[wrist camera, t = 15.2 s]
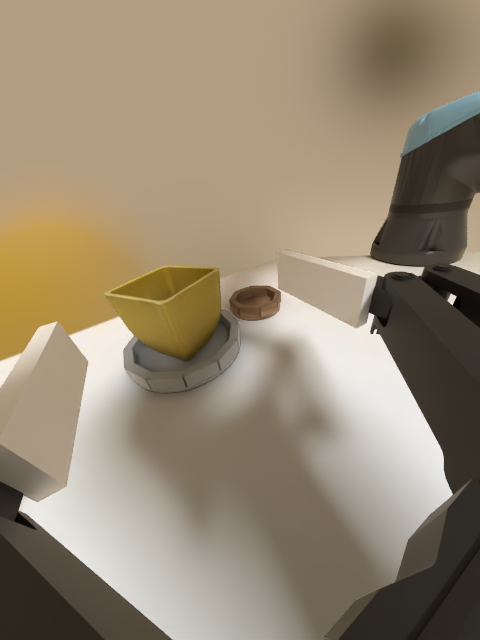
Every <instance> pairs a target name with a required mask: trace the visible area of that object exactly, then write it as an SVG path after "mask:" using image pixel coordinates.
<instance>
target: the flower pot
mask: <svg viewBox="0 0 480 640" xmlns="http://www.w3.org/2000/svg"><path fill="white" fill-rule="evenodd" d="M104 295H105V296H106V297H107V299H108V300H109V301H110V303H111V304H112V306H113V307H114V309H115V310H116V312H117V313H118V314H119V316H120V317H121V319H122V320H123V322H124V323H125V325H126V326H127V327H128V329H129V330H130V331H131V332H132V333H133V334H134V335H135V336H136V337H137V338H138V339H139V340H140V341H142V342H143V343H144V344H146V345H147V346H149V347H150V348H152V349H154V350H156V351H157V352H159V353H162V354H165V355H168V356H172V357H175V358H178V359H181V360H184V361H188V360H190V359H192V357H193V356H194V355H195V354H196V353H197V352H198V351H199V350H200V349H201V348H202V347H203V346H204V345H205V344H206V343H207V342H208V341H209V340H210V339H211V338H212V336H213V334H214V332H215V330H216V327H217V325H218V321H219V318H220V311H221V296H220V278H219V269H218V268H213V267H189V266H188V267H187V266H163V267H160V268H159V269H156V270H153V271H151V272H149V273H146V274H144V275H142V276H140V277H138V278H136V279H133V280H131V281H129V282H127V283H125V284H123V285H120V286H118V287H116V288H114V289H112V290H110V291H108V292H106V293H105V294H104Z"/></svg>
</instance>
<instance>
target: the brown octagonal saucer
mask: <svg viewBox="0 0 480 640" xmlns="http://www.w3.org/2000/svg"><path fill="white" fill-rule="evenodd" d="M229 301H230V306H231V309H232V310H233V313H234V314H235V316H237V317H238V318H241V319H244V320H253V321H254V320H262V319H266V318H269V317H271V316H273V315H275V314H276V313H277V312H278V311H279V309H280V302H281V292H280V291H278V290H276V289H274V288H272V287H271V286H249V287H246V288H244V289H241V290H238V291H236V292H234V294H233V295H232V297H231V298H230V300H229Z"/></svg>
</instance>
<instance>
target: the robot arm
mask: <svg viewBox="0 0 480 640" xmlns="http://www.w3.org/2000/svg"><path fill="white" fill-rule="evenodd" d="M400 157H402V159H401V163H400V167H399V172H398V175H397V180H396V184H395V188H394V192H393V196H392V200H391V205H390V209H389V213H388V217H387V218H386V220H385V222H384V224H383V226H382V227H381V229H380V231H379V233H378V235H377V236H376V238H375V240H374V241H373V244H372V248H371V253H370V254H371V256H372V257H374V258H376V259H378V260H381V261H384V262H388V263H393V264H400V265H412V266H425V268H424V270H423V273H422V276H416V275H414V274H412V273H407V272H390V273H387V274H386V275H385V276H384V277H382V276H378V273H374V272H370V271H366V270H362V269H359V268H355V267H351V266H347V265H343V264H340V263H336V262H332V261H328V260H324V259H320V258H317V257H313V256H309V255H305V254H301V253H298V252H293V251H290V250H282V251H279V252H277V267H278V288H279V289H281V290H283V291H285V292H287V293H289V294H290V295H292V296H294V297H296V298H298V299H300V300H302V301H304V302H306V303H308V304H310V305H312V306H314V307H316V308H318V309H320V310H322V311H324V312H326V313H327V314H329V315H331V316H333V317H335V318H337V319H339V320H341V321H343V322H345V323H347V324H349V325H351V326H353V327H355V328H358V327H360V326H362V325H364V324H365V323H367V318H368V314H369V313H371V314H374V319H373V323H372V327H371V331H370V333H371V334H373V332H374V330H375V329H377V333H376V334H380V335H381V337H382V339H383V341H384V342H385V344H386V346H387V348H388V350H389V352H390V354H391V355H392V357H393V359H394V361H395V363H396V365H397V367H398V368H399V370H400V372H401V374H402V376H403V378H404V380H405V382H406V383H407V385H408V387H409V389H410V391H411V393H412V395H413V396H414V398H415V400H416V402H417V404H418V406H419V408H420V409H421V411H422V413H423V415H424V417H425V419H426V421H427V423H428V424H429V426H430V428H431V430H432V432H433V434H434V436H435V437H436V439H437V441H438V443H439V445H440V447H441V449H442V451H443V455H444V472H445V476H446V480H447V482H448V484H449V487H450V489H451V491H452V493H453V496H451V497H450V498H449V499H448V500H447V501H446V502H444V503H443V504H442V505H441V506H440V507H439V508H437V509H436V510H435V511H434V512H433V513H432V514H430V515H429V516H428V518H427V519H426V520H425V521H424V522H423V523H422V525H421V526H420V527H419V528H418V529H417V530H416V532H415V533H414V534H413V535H412V536H411V537H410V538H409V540H408V542H407V546H406V549H405V552H404V556H403V559H402V562H401V566H400V569H399V572H398V575H397V579H396V581H395V583H393V584H390V585H388V586H386V587H384V588H381V589H379V590H377V591H375V592H373V593H371V594H369V595H367V596H365V597H363V598H361V599H359V600H357V601H355V602H354V603H353V605H352V606H351V607H350V608H349V609H348V610H347V612H346V613H345V614H344V615H343V616H342V617H341V618H340V620H339V621H338V622H337V623H336V624H335V625H334V627H333V628H332V629H331V630H330V631H329V632H328V634H327V635H326V636H325V637H324V638H325V640H480V275H478V274H475V273H473V272H470V271H467V270H464V269H462V268H459V267H456V266H452V265H449V263H453V262H456V261H458V260H460V259H461V258H462V256H463V254H464V252H465V249H466V247H467V213H468V209H469V207H470V205H471V202H472V200H473V197H474V195H475V193H480V91H479V92H476V93H473V94H471V95H468V96H466V97H463V98H460V99H458V100H455V101H453V102H451V103H448V104H446V105H443V106H441V107H439V108H437V109H435V110H433V111H430V112H428V113H427V114H425V115H423V116H421V117H420V118H419V119H417V120H416V121H415V122H414V123H413V125H412V126H411V127H410V129H409V131H408V134H407V137H406V141H405V145H404V148H403V152H402V153H401V156H400ZM450 294H453V295H455V296H457V297H456V299H455V302H454V304H453V306H452V305H451V304H450V303H449V302H448V298H449V296H450ZM87 366H88V361H87V359H86V358H85V357H84V355H83V354H82V353H81V352H80V350H79V349H78V348H77V346H76V345H75V344H74V342H73V341H72V340H71V338H70V337H69V336H68V334H67V333H66V332H65V330H64V329H63V328H62V326H61V325H60V324H59V323H58V322H54V323H51V324H48V325H45V326H41V327H39V328H38V330H37V331H36V333H35V334H34V336H33V337H32V339H31V341H30V342H29V344H28V346H27V347H26V349H25V350H24V352H23V353H22V355H21V357H20V358H19V360H18V361H17V363H16V365H15V366H14V368H13V369H12V371H11V373H10V374H9V376H8V377H7V379H6V381H5V382H4V384H3V385H2V387H1V389H0V640H172V639H171V638H170V637H169V636H167V635H166V634H165V633H164V632H163V631H162V630H160V629H159V628H158V627H157V626H156V625H155V624H154V623H152V622H151V621H150V620H149V619H148V618H147V617H145V616H144V615H143V614H142V613H141V612H140V611H138V610H137V609H136V608H135V607H134V606H133V605H131V604H130V603H129V602H128V601H127V600H126V599H124V598H123V597H122V596H121V595H120V594H119V593H117V592H116V591H115V590H114V589H113V588H112V587H111V586H109V585H108V584H107V583H106V582H105V581H104V580H102V579H101V578H100V577H99V576H98V575H97V574H95V573H94V572H93V571H92V570H91V569H90V568H88V567H87V566H86V565H85V564H84V563H83V562H81V561H80V560H79V559H78V558H77V557H76V556H74V555H73V554H72V553H71V552H70V551H69V550H68V549H66V548H65V547H64V546H63V545H62V544H61V543H59V542H58V541H57V540H56V539H55V538H54V537H52V536H51V535H50V534H49V533H48V532H47V531H45V530H44V529H43V528H42V527H41V526H40V525H38V524H37V523H36V522H35V521H34V520H33V519H31V518H30V517H29V516H28V515H27V514H25V513H23V512H20V511H18V510H19V507H20V504H21V501H22V497H23V495H24V496H26V497H28V498H30V499H32V500H34V501H36V502H39V501H40V500H42V499H44V498H46V497H48V496H50V495H51V494H53V493H55V492H57V491H59V490H61V489H62V488H64V487H66V486H67V480H68V474H69V469H70V463H71V457H72V452H73V446H74V440H75V434H76V429H77V423H78V417H79V412H80V406H81V400H82V394H83V389H84V383H85V377H86V372H87Z"/></svg>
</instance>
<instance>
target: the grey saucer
mask: <svg viewBox="0 0 480 640" xmlns="http://www.w3.org/2000/svg"><path fill="white" fill-rule="evenodd" d="M240 344H241V343H240V327H239V322H238V321H237V320H236V319H235V318H234V317H233V316H232V315H231V314H230V313H229V312H228V311H226V310H221V311H220V318H219V321H218V325H217V327H216V330H215V332H214V334H213V336H212V338H211V339H210V340H209V341H208V342H207V343H206V344H205V345H204V346H203V347H202V348H201V349H200V350H199V351H198V352H197V353H196V354H195V355H194V356H193V357H192V359H190V360H188V361H184V360H181V359H178V358H175V357H172V356H168V355H165V354H162V353H159V352H157V351H156V350H154V349H152V348H150V347H149V346H147V345H146V344H144V343H143V342H142V341H140V340H139V339H138V338H137V337H136V336H135V335H134V336H133V338H132V339H131V340H130V342H129V343H128V344H127V346H126V347H125V348H124V350H123V354H124V368H125V370H126V371H127V373H128V375H129V376H130V378H131V379H133V380H134V381H136V383H137V384H138V385H140V386H141V387H142V388H144V389H146V390H149V391H152V392H158V393H176V392H182V391H186V390H190V389H193V388H196V387H199V386H201V385H203V384H206V383H208V382H209V381H211V380H213V379H215V378H216V377H217V376H219V375H220V374H222V373H223V372H224V371H225V370H226V369H227V368H228V367H229V366H230V365H231V364H232V363H233V361H234V360H235V358H236V357H237V355H238V352H239V349H240Z"/></svg>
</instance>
